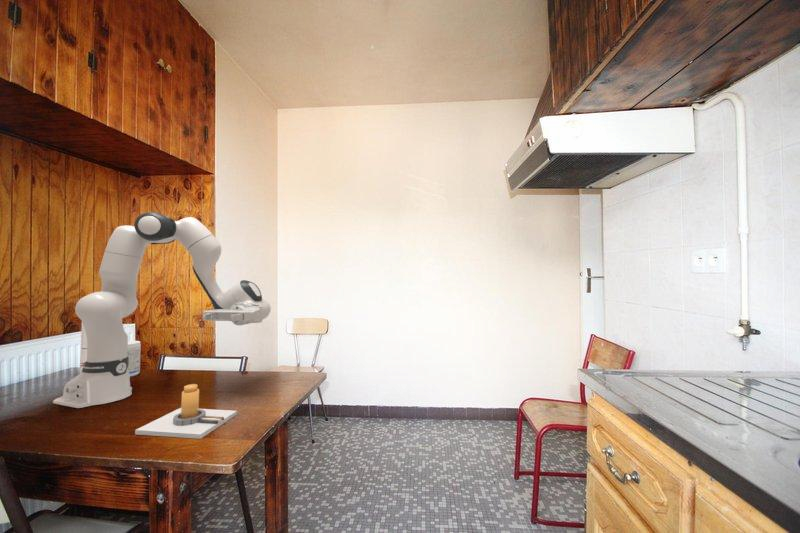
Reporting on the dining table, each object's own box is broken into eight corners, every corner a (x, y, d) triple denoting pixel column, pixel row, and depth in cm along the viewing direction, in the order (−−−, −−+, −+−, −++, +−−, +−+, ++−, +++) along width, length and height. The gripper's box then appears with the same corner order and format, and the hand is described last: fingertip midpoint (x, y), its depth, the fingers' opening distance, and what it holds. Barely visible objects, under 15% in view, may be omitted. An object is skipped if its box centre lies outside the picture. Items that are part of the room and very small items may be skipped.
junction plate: (135, 434, 91) (135, 424, 91) (180, 411, 107) (180, 402, 107) (200, 438, 88) (200, 428, 89) (237, 414, 104) (237, 406, 104)
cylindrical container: (87, 378, 142) (90, 320, 143) (75, 377, 144) (77, 320, 145) (105, 373, 149) (107, 318, 150) (93, 372, 151) (95, 318, 152)
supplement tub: (111, 375, 147) (113, 342, 148) (138, 371, 153) (139, 339, 154) (112, 380, 140) (113, 345, 140) (140, 375, 146) (141, 342, 147)
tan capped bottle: (177, 422, 96) (178, 387, 96) (188, 416, 100) (189, 383, 101) (190, 423, 95) (192, 388, 96) (201, 417, 100) (202, 383, 100)
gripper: (217, 305, 128) (190, 308, 114) (266, 305, 126) (244, 309, 112) (217, 321, 128) (190, 326, 114) (266, 322, 125) (244, 327, 112)
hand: (217, 317), depth 113 cm, fingers open, 8 cm apart
